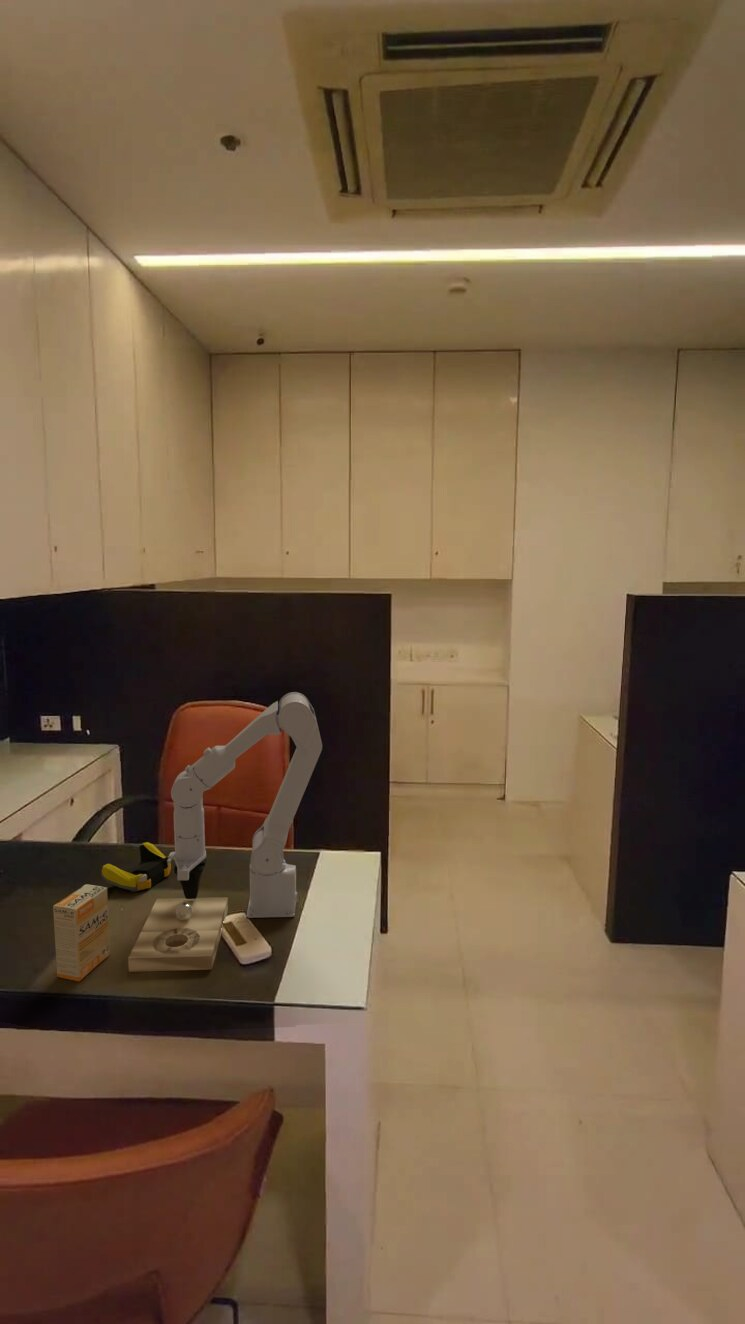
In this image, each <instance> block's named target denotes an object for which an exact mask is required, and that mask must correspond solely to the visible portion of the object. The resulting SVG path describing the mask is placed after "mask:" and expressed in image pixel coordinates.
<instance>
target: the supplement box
mask: <svg viewBox="0 0 745 1324" xmlns="http://www.w3.org/2000/svg"><path fill="white" fill-rule="evenodd" d="M108 903H109V902H108V887H105V886H101V885H95V884H87V883H86V884H84V885H83V886H81V887H80V888H78V889H76V890H75V891H73V892H72V893H70V894H69V895H68V896H66V897H64V898H63V899H61V900H60V901H58V902H57V903H55V904H54V905H53V906H52V909H53V910H52V911H53V926H54V929H53V930H54V942H55V943H54V944H55V945H54V946H55V958H56V959H55V961H56V976H57V977H58V978H60V979H65V980H70V981H75V982H78V983H79V982H81V981H82V980H83V979H84V978H85V977H86V976H87V975H88V974H90V972H92V971H93V970H94V969H95V968H97V967H98V965H99V964H101V963H102V962H103V961H104V960H105V959H107V958H108V957H110V954H111V952H110V950H111V949H110V928H109V926H110V925H109V924H110V923H109V906H108Z"/></svg>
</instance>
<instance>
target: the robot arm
mask: <svg viewBox="0 0 745 1324" xmlns="http://www.w3.org/2000/svg"><path fill="white" fill-rule="evenodd" d="M278 701H279V702H278ZM310 702H311V701H310V700H309V699H308V697H306V696H305V695H304V694H303V693H300V692H297V691H294V692H293V691H292V692H288V693H286V694H284V695H283V696H282V697H281V698H280V700H277V701H275V702H272V704H270V705H269V706H267V708H265V710H263V711H262V712H261V713H260V714H259V715H257V717H255V718H253V720H252V721H251V722H250V723H248V724H247V726H246V727H244V728H243V729H242V730H241V731H240V732H239V733H238V734H236V735H235V736H234V737H233V739H231V740H230V741H229V742H228V743H227V744H225V745H215V746H213V747H211V748H210V747H207V748H206V749H205V750H203V756H201V757H200V758H199V759H197V761H195V762H194V763H193V764H192V765H190V764H188V765H187V766H186V767H185V769H184V770H183V771H182V772H180V773H179V774H178V775H177V776H176V778H175V779H174V782H173V785H172V786H171V789H170V796H171V800H172V801H173V831H174V851H170V853H169V854H168V857H169V859H172V860H173V861H174V862H175V865H174V867H173V871H174V874H175V875H176V877H177V881H179V882H180V884H181V887H182V892H183V895H184V898H186V899H196V898H198V894H199V889H200V885H201V884H200V883H201V879H202V878H201V877H202V873H203V871H204V869H205V866H206V863H207V850H206V836H205V833H206V831H205V808H204V803H203V802H204V801H203V800H204V798H203V795H204V792H205V791H208V790H211V789H212V788H213V787H214V786H216V784H217V783H219V782H220V781H221V780H222V779H223V778H225V777H226V776H227V775H228V774H230V773H231V772H232V771H233V770H234V769H235V768H236V759H237V758H239V757H240V756H241V755H242V754H243V753H245V752H246V751H247V750H250V748H252V747H253V746H254V745H255V744H257V743H258V742H259V741H261V740H262V739H263V738H265V737H266V736H267V735H269V736H270V735H271V736H272V735H273V736H274V735H275V736H276V735H277V736H278V735H279V736H280V735H282V730H283V731H284V732H285V733H286V734H287V735H288V736H289V737H290V738H291V739H292V741H293V743H294V745H295V750H294V753H293V756H292V757H291V759H290V762H289V765H288V767H287V770H286V771H285V774H284V777H283V779H282V782H281V784H280V787H279V789H278V792H277V794H276V796H275V799H274V802H273V804H272V806H271V808H270V811H269V813H268V815H267V817H266V818H265V819H264V822H263V824H262V825H261V827H259V828H258V829H257V830H256V831H255V832H254V834H253V836H252V840H251V844H252V850H251V855H250V863H249V900H248V904H247V910H246V915H245V916H247V917H248V918H247V917H246V918H247V919H254V918H256V919H258V918H292V917H295V915H296V903H297V902H298V891H297V866H296V865H294V864H289V863H287V862H286V860H285V857H284V849H285V846H286V844H287V840H288V835H289V830H290V828H291V825H292V822H293V820H294V818H295V815H296V814H297V811H298V808H299V807H300V803H301V801H302V799H303V796H304V794H305V791H306V789H307V787H308V784H309V782H310V779H311V778H312V775H313V772H314V770H315V768H316V765H317V763H318V760H319V758H320V755H321V753H322V751H323V743H322V738H321V734H320V729H319V725H318V721H317V717H316V716H317V715H316V712H315V709H314V707H313V706H312V704H311V703H310Z"/></svg>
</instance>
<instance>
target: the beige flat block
mask: <svg viewBox="0 0 745 1324" xmlns="http://www.w3.org/2000/svg"><path fill="white" fill-rule="evenodd" d="M181 903H189V904H190V905H191V906H192V908H193V914H192V916H191V917H190V918H189V919H188V920H185V921H181V920H179V919H178V918H177V917H176V914H175V911H176V908H177V906H178V905H179V904H181ZM228 911H229V897H227V896H226V897H225V896H224V897H223V896H220V897H196V899H186V898H185V897H179V898H177V897H176V898H175V897H174V898H156V900H155V902H154V904H153V906H152V908H151V911H150V913H149V914H148V916H147V919H146V921H145V923H144V925H143V926H142V929H141V931H140V932H139V934H138V937H137V939H136V941H135V943H134V946H133V948H132V949H131V952H130V954H129V955H128V958H127V959H128V972H129V973H130V972H135V973H136V972H166V971H201V970H202V971H204V970H206V971H207V970H213V967H214V963H215V960H216V955H217V952H218V948H219V945H220V941H221V937H222V934H221V928H222V924H223V921H224V919H225V917H226V918H227V915H228ZM225 920H226V919H225Z"/></svg>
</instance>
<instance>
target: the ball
mask: <svg viewBox="0 0 745 1324" xmlns="http://www.w3.org/2000/svg"><path fill="white" fill-rule="evenodd" d="M175 914H176V917H177V918H178V919H179V920H181V921H185V920H188V919H189V918H190V917H191V916H192V914H193V908H192V906H191V905H190V904H189V903H181V904H179V905H178V906H177V908H176V911H175Z"/></svg>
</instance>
